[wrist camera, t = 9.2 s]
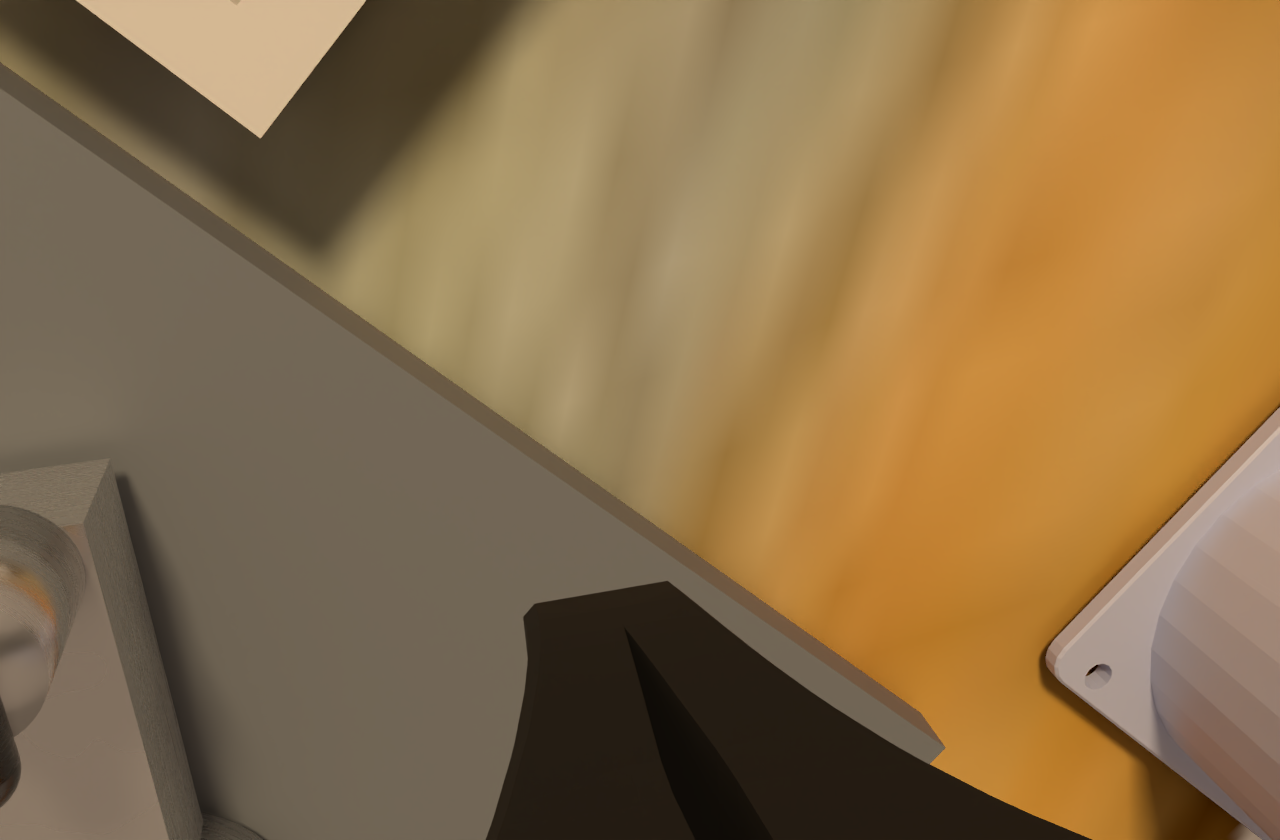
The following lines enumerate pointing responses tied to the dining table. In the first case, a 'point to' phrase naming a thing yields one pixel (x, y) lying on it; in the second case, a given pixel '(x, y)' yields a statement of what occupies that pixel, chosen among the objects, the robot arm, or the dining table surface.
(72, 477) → the crank
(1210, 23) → the dining table surface
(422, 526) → the crank base
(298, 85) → the tray
